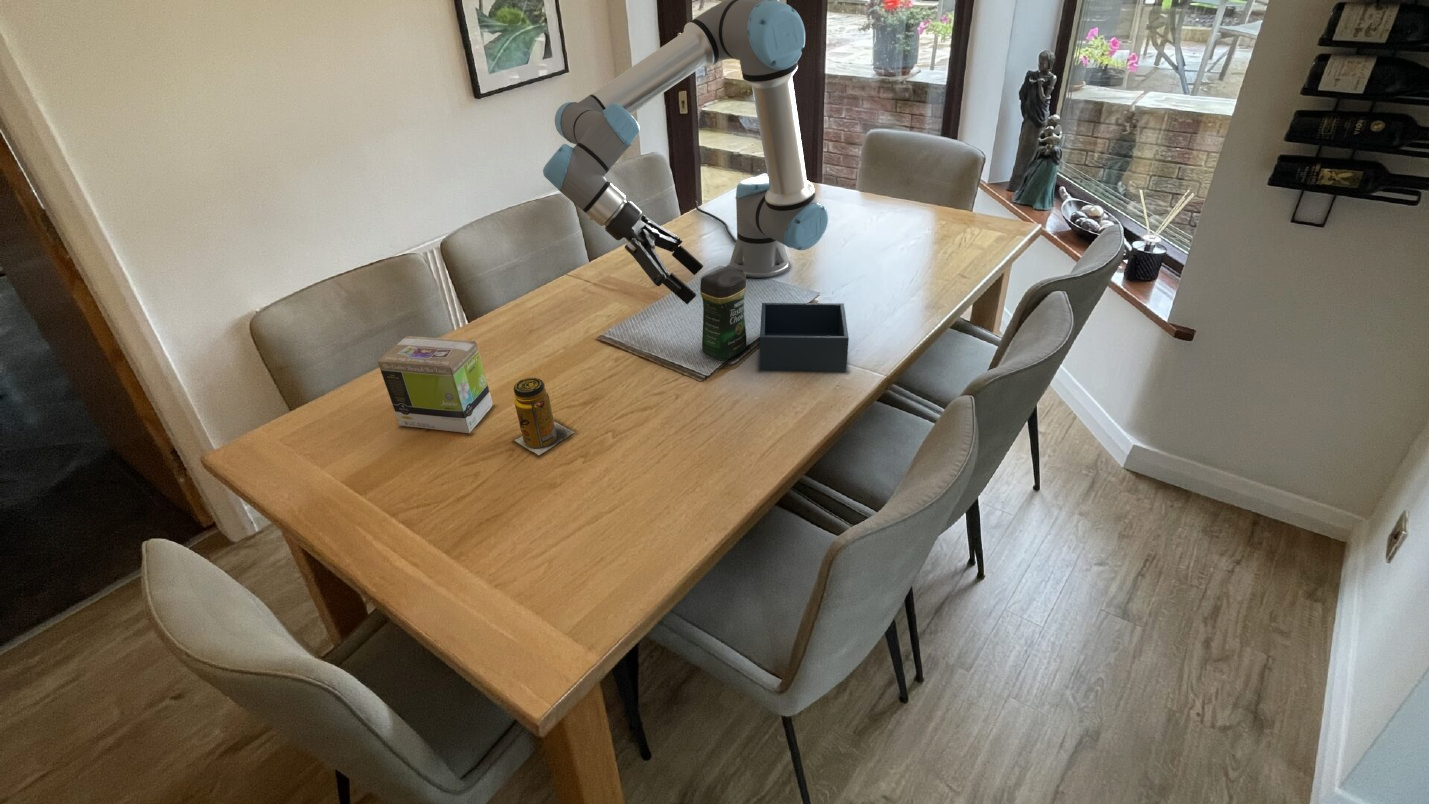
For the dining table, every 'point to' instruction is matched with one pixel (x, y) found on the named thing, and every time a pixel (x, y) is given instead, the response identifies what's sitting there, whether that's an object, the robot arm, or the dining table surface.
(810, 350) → the open storage box
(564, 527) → the dining table surface
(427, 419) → the tea box
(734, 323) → the coffee jar
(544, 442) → the condiment
